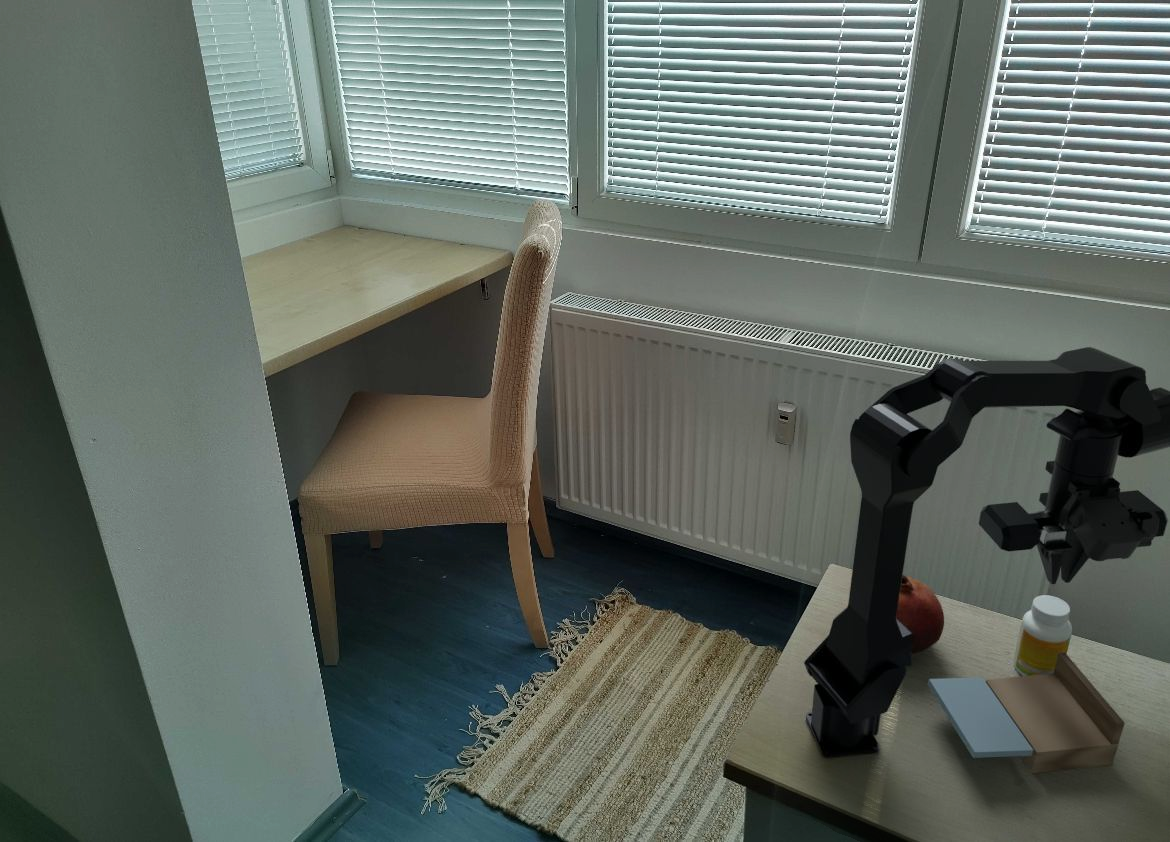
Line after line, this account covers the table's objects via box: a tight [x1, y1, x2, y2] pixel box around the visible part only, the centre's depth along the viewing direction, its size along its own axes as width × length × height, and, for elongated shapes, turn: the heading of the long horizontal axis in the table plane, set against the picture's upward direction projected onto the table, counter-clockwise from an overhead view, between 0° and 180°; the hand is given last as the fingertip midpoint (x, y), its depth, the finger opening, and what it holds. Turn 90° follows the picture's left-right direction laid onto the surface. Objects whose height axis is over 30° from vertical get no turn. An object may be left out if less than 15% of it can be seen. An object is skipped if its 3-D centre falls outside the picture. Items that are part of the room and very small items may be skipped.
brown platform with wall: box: [985, 653, 1126, 774], centre depth 100 cm, size 9×11×6 cm
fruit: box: [896, 574, 945, 654], centre depth 114 cm, size 11×10×10 cm
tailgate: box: [927, 677, 1033, 759], centre depth 100 cm, size 1×11×6 cm
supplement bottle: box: [1013, 594, 1073, 676], centre depth 108 cm, size 5×5×10 cm
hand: (1058, 581), depth 104 cm, fingers closed
